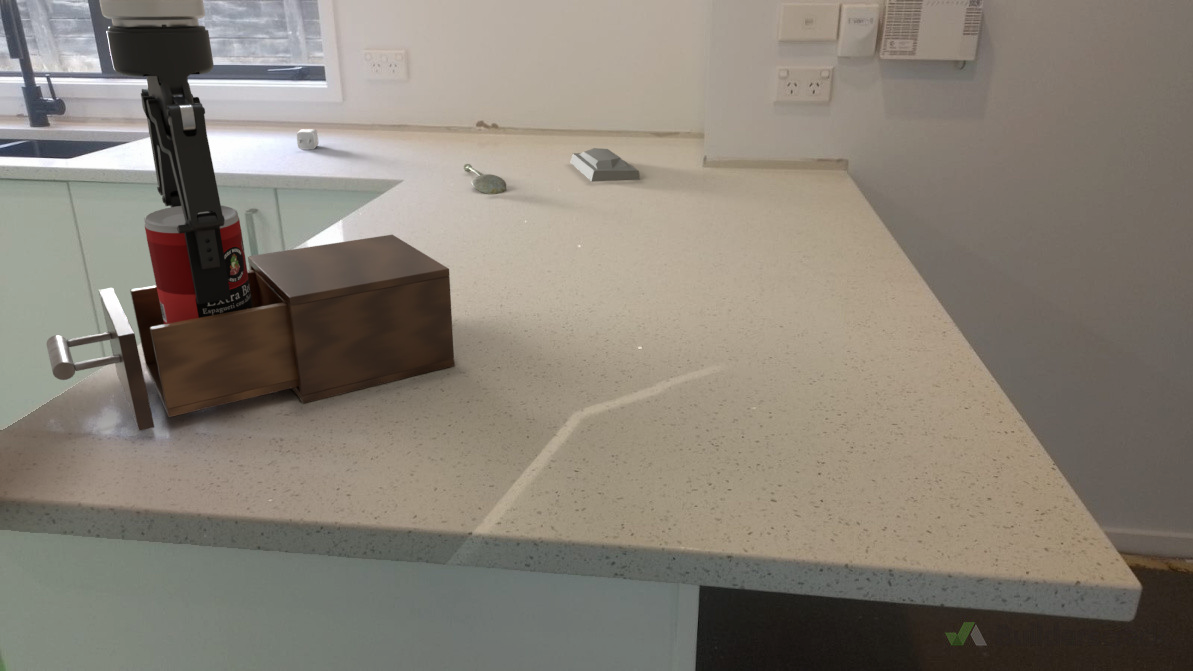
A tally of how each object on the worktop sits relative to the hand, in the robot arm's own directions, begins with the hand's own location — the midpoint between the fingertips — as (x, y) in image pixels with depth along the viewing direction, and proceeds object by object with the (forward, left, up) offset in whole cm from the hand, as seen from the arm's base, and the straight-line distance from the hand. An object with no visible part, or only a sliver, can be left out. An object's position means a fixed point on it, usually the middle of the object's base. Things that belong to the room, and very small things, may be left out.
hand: (203, 286), depth 77 cm
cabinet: (+13, 0, -11) cm, 17 cm away
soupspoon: (+64, +70, -11) cm, 96 cm away
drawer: (-3, 0, -10) cm, 10 cm away
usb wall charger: (+46, +124, -11) cm, 133 cm away
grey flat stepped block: (+92, +67, -11) cm, 115 cm away
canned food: (0, 0, -4) cm, 4 cm away
